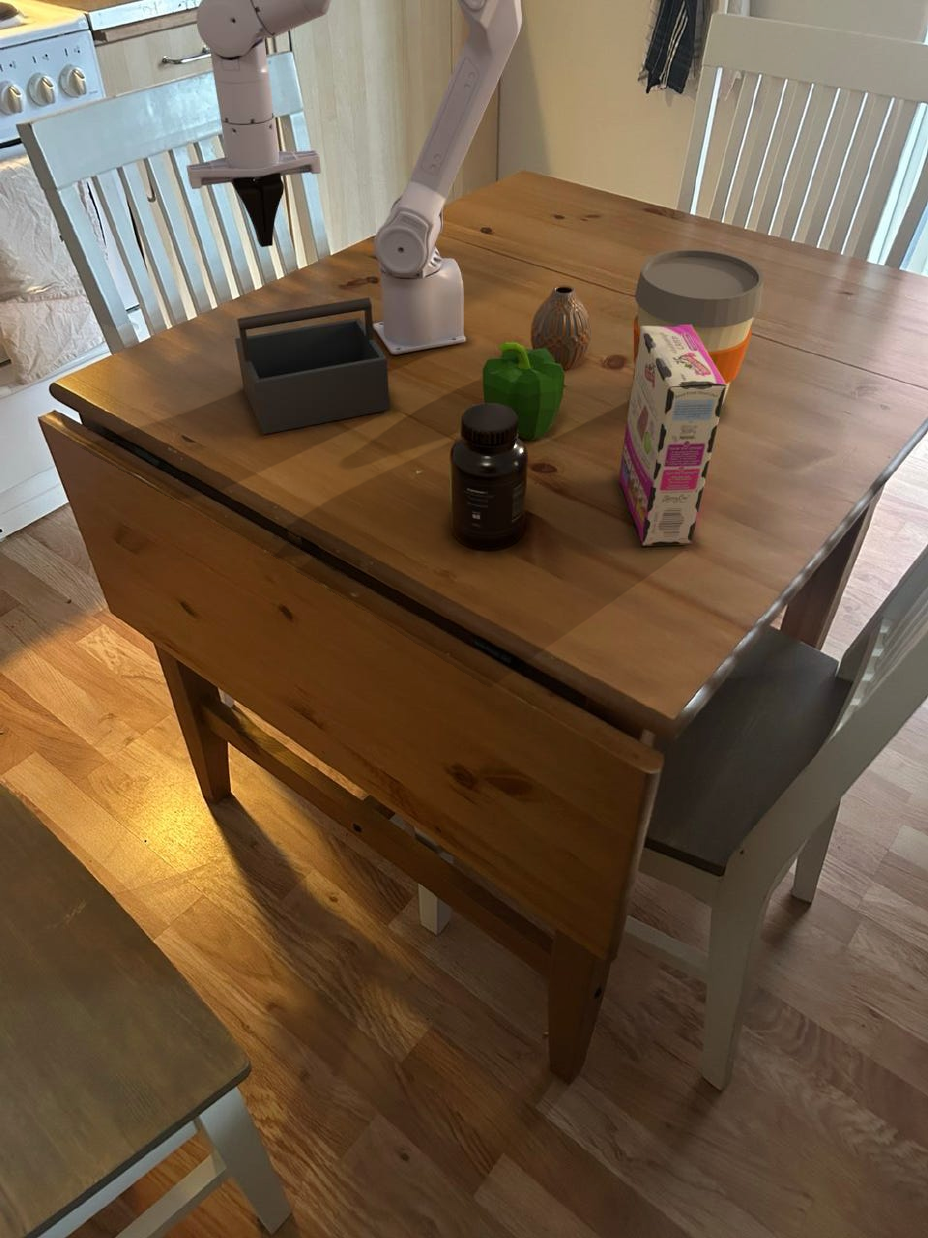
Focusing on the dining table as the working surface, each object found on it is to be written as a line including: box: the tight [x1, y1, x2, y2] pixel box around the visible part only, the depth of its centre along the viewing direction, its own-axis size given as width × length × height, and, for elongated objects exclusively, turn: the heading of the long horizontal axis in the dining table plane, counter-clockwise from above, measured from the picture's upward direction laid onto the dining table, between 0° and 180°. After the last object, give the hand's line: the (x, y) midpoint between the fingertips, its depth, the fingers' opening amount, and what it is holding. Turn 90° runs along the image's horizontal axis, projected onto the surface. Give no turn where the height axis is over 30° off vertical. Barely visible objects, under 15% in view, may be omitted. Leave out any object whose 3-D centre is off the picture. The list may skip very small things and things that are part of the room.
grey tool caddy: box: [234, 297, 391, 435], centre depth 103 cm, size 10×14×11 cm
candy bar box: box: [618, 325, 727, 547], centre depth 86 cm, size 11×5×16 cm, turn 5°
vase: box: [530, 284, 592, 370], centre depth 110 cm, size 7×7×9 cm
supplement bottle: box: [449, 402, 529, 551], centre depth 85 cm, size 7×7×12 cm
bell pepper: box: [482, 341, 566, 441], centre depth 99 cm, size 8×8×10 cm
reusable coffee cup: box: [633, 248, 764, 405], centre depth 100 cm, size 13×13×15 cm
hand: (265, 243), depth 112 cm, fingers closed
